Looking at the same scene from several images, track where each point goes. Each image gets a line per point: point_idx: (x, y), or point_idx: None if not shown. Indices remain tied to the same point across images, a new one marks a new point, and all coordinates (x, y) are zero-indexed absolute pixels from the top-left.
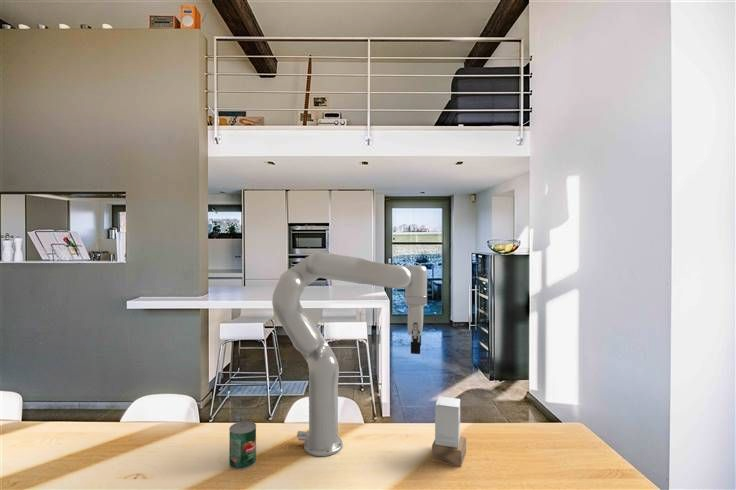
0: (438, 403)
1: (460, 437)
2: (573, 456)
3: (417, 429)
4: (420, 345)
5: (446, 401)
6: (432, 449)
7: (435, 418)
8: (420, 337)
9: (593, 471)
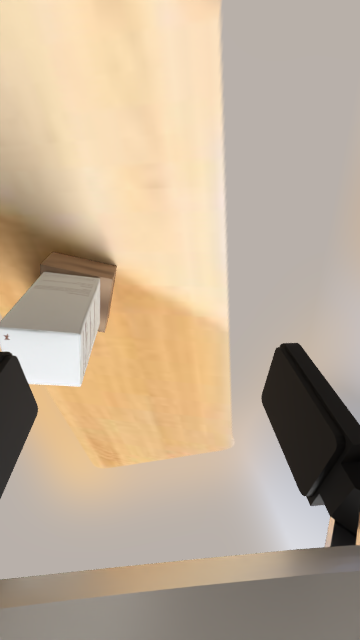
0: (9, 336)
1: (100, 322)
2: (137, 433)
3: (191, 215)
4: (263, 404)
5: (38, 357)
6: (44, 261)
7: (16, 303)
8: (296, 478)
9: (105, 442)
